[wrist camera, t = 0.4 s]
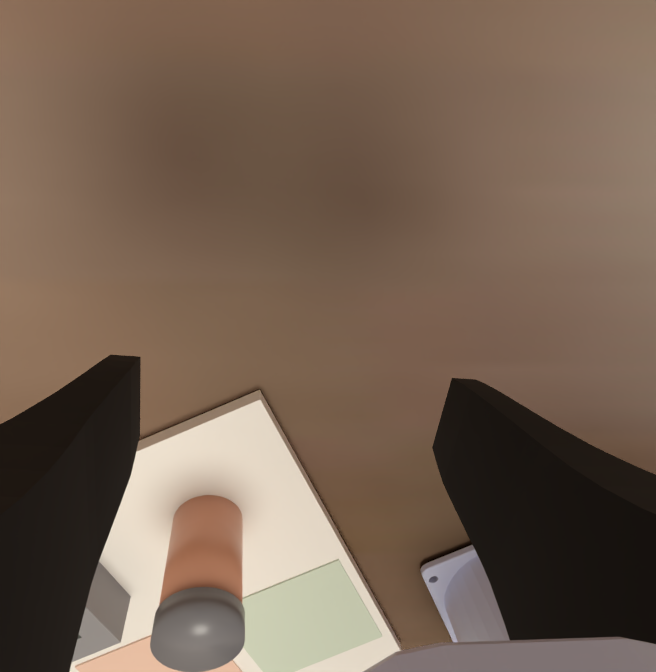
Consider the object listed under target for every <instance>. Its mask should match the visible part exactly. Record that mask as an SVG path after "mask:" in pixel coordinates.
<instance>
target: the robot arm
mask: <svg viewBox="0 0 656 672" xmlns="http://www.w3.org/2000/svg"><path fill="white" fill-rule="evenodd" d="M139 437H140V357H135V356H121V355H110V356H108V357H106V358H105V359H103V360H102V361H100V362H99V363H98V364H96V365H95V366H93V367H92V368H91V369H89V370H88V371H86V372H85V373H84V374H82V375H81V376H79V377H78V378H76V379H75V380H73V381H72V382H70V383H69V384H67V385H66V386H64V387H63V388H61V389H60V390H59V391H57V392H55V393H54V394H52V395H51V396H49V397H47V398H46V399H44V400H42V401H41V402H39V403H37V404H36V405H34V406H32V407H31V408H29V409H27V410H26V411H24V412H22V413H21V414H19V415H17V416H15V417H13V418H12V419H10V420H8V421H6V422H4V423H2V424H0V672H69V671H70V667H71V663H72V659H73V655H74V651H75V647H76V643H77V639H78V635H79V631H80V627H81V623H82V619H83V615H84V611H85V607H86V603H87V599H88V596H89V592H90V588H91V584H92V581H93V578H94V575H95V572H96V569H97V565H98V563H99V560H100V557H101V554H102V552H103V549H104V546H105V544H106V541H107V538H108V536H109V533H110V530H111V528H112V525H113V522H114V520H115V517H116V514H117V512H118V509H119V506H120V504H121V501H122V498H123V495H124V493H125V490H126V487H127V485H128V482H129V479H130V476H131V473H132V468H133V464H134V460H135V455H136V451H137V446H138V441H139ZM432 448H433V451H434V455H435V458H436V462H437V465H438V469H439V472H440V475H441V478H442V481H443V484H444V486H445V488H446V490H447V493H448V495H449V497H450V499H451V501H452V503H453V505H454V507H455V510H456V512H457V514H458V516H459V518H460V520H461V522H462V524H463V526H464V528H465V530H466V532H467V534H468V536H469V538H470V540H471V543H472V545H470V546H468V547H465V548H463V549H460V550H458V551H455V552H453V553H450V554H448V555H445V556H443V557H440V558H438V559H435V560H433V561H430V562H428V563H426V564H424V565H423V566H422V567H421V574H422V577H423V579H424V581H425V583H426V585H427V588H428V590H429V592H430V594H431V596H432V598H433V600H434V602H435V604H436V607H437V609H438V611H439V613H440V615H441V617H442V619H443V621H444V624H445V626H446V628H447V630H448V632H449V634H450V636H451V638H452V641H453V642H448V643H435V644H431V645H426V646H421V647H416V648H412V649H407V650H402V651H397V652H395V653H393V654H391V655H390V656H388V657H386V658H385V659H383V660H381V661H380V662H378V663H376V664H375V665H373V666H371V667H370V668H368V669H366V670H365V671H363V672H656V475H655V474H653V473H650V472H648V471H645V470H643V469H641V468H638V467H636V466H634V465H632V464H629V463H627V462H625V461H623V460H621V459H619V458H617V457H614V456H612V455H610V454H608V453H606V452H604V451H602V450H600V449H598V448H596V447H594V446H592V445H590V444H588V443H586V442H585V441H583V440H581V439H579V438H577V437H575V436H574V435H572V434H570V433H568V432H566V431H564V430H563V429H561V428H559V427H557V426H556V425H554V424H552V423H551V422H549V421H547V420H546V419H544V418H542V417H541V416H539V415H537V414H536V413H534V412H532V411H531V410H529V409H527V408H526V407H524V406H522V405H521V404H519V403H517V402H516V401H514V400H512V399H511V398H509V397H508V396H506V395H504V394H502V393H501V392H499V391H497V390H495V389H494V388H492V387H490V386H488V385H486V384H484V383H482V382H480V381H477V380H473V379H458V378H452V380H451V384H450V387H449V391H448V394H447V398H446V401H445V405H444V408H443V412H442V415H441V419H440V423H439V426H438V430H437V433H436V437H435V440H434V444H433V447H432Z"/></svg>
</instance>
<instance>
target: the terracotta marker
mask: <svg viewBox="0 0 656 672" xmlns="http://www.w3.org/2000/svg"><path fill="white" fill-rule="evenodd" d="M242 562H243V517H242V513H241V511H240V509H239V508H238V506H237V505H236V504H235V503H233V502H232V501H230V500H229V499H226V498H224V497H221V496H215V495H203V496H198V497H195V498H192V499H190V500H188V501H186V502H184V503H183V504H182V505H181V506H180V507H179V508H178V509H177V511H176V512H175V514H174V517H173V523H172V529H171V535H170V541H169V548H168V554H167V560H166V566H165V572H164V578H163V585H162V591H161V597H160V603H159V607H158V608H157V610H156V613H155V617H154V623H153V629H152V635H151V641H150V649H151V652H152V654H153V656H154V657H155V658H156V660H158V661H159V662H160V663H161V664H163V665H164V666H166V667H168V668H171V669H174V670H178V671H183V672H203V671H209V670H212V669H216V668H219V667H221V666H223V665H225V664H227V663H229V662H230V661H232V660H233V659H234V658H235V657H236V656H237V655H238V654H239V653H240V652H241V650H242V648H243V646H244V643H245V610H244V607H243V605H242Z"/></svg>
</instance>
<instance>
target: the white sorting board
mask: <svg viewBox="0 0 656 672" xmlns="http://www.w3.org/2000/svg"><path fill="white" fill-rule="evenodd" d="M203 495H215V496H221V497H224V498H226V499H229V500H230V501H232V502H233V503H235V504H236V505H237V506H238V508H239V509H240V511H241V513H242V517H243V562H242V605H243V607H244V610H245V643H244V646H243V648H242V650H241V652H240V653H239V654H238V655H237V656H236V657H235V658H234V659H233V660H232V661H230V662H229V663H227V664H225V665H223V666H221V667H219V668H216V669H212V670H209V671H203V672H363V671H365V670H366V669H368V668H370V667H371V666H373V665H375V664H376V663H378V662H380V661H381V660H383V659H385V658H386V657H388V656H390V655H391V654H393V653H395V652H397V651H402V649H401V645H400V642H399V640H398V638H397V637H396V635H395V633H394V631H393V629H392V628H391V626H390V624H389V622H388V620H387V619H386V617H385V615H384V613H383V611H382V610H381V608H380V606H379V604H378V602H377V601H376V599H375V597H374V595H373V593H372V591H371V590H370V588H369V586H368V584H367V582H366V581H365V579H364V577H363V575H362V573H361V572H360V570H359V568H358V566H357V564H356V563H355V561H354V559H353V557H352V555H351V554H350V552H349V550H348V548H347V546H346V545H345V543H344V541H343V539H342V537H341V535H340V534H339V532H338V530H337V528H336V526H335V525H334V523H333V521H332V519H331V517H330V516H329V514H328V512H327V510H326V508H325V507H324V505H323V503H322V501H321V499H320V498H319V496H318V494H317V492H316V490H315V489H314V487H313V485H312V483H311V481H310V480H309V478H308V476H307V474H306V472H305V470H304V469H303V467H302V465H301V463H300V461H299V460H298V458H297V456H296V454H295V452H294V451H293V449H292V447H291V445H290V443H289V442H288V440H287V438H286V436H285V434H284V433H283V431H282V429H281V427H280V425H279V424H278V422H277V420H276V418H275V416H274V415H273V413H272V411H271V409H270V407H269V405H268V404H267V402H266V400H265V398H264V396H263V395H262V393H261V391H260V390H258V391H255V392H253V393H251V394H248V395H246V396H244V397H241V398H239V399H236V400H234V401H232V402H229V403H227V404H225V405H222V406H220V407H218V408H215V409H213V410H210V411H208V412H206V413H203V414H201V415H199V416H196V417H194V418H192V419H189V420H187V421H185V422H182V423H180V424H177V425H175V426H173V427H170V428H168V429H166V430H163V431H161V432H159V433H156V434H154V435H152V436H149V437H147V438H144V439H142V440H140V441H138V446H137V451H136V455H135V460H134V464H133V468H132V473H131V476H130V479H129V482H128V485H127V487H126V490H125V493H124V495H123V498H122V501H121V504H120V506H119V509H118V512H117V514H116V517H115V520H114V522H113V525H112V528H111V530H110V533H109V536H108V538H107V541H106V544H105V546H104V549H103V552H102V554H101V557H100V560H99V563H98V565H97V569H96V572H95V575H94V578H93V581H92V584H91V588H90V592H89V596H88V599H87V603H86V607H85V611H84V615H83V619H82V623H81V627H80V631H79V635H78V639H77V643H76V647H75V651H74V655H73V659H72V663H71V667H70V671H69V672H183V671H178V670H174V669H171V668H168V667H166V666H164V665H163V664H161V663H160V662H159V661H158V660H156V658H155V657H154V656H153V654H152V652H151V649H150V641H151V635H152V629H153V623H154V617H155V613H156V610H157V608H158V607H159V603H160V597H161V591H162V585H163V578H164V572H165V566H166V560H167V554H168V548H169V541H170V535H171V529H172V523H173V517H174V514H175V512H176V511H177V509H178V508H179V507H180V506H181V505H182V504H183V503H184V502H186V501H188V500H190V499H192V498H195V497H198V496H203Z"/></svg>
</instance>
